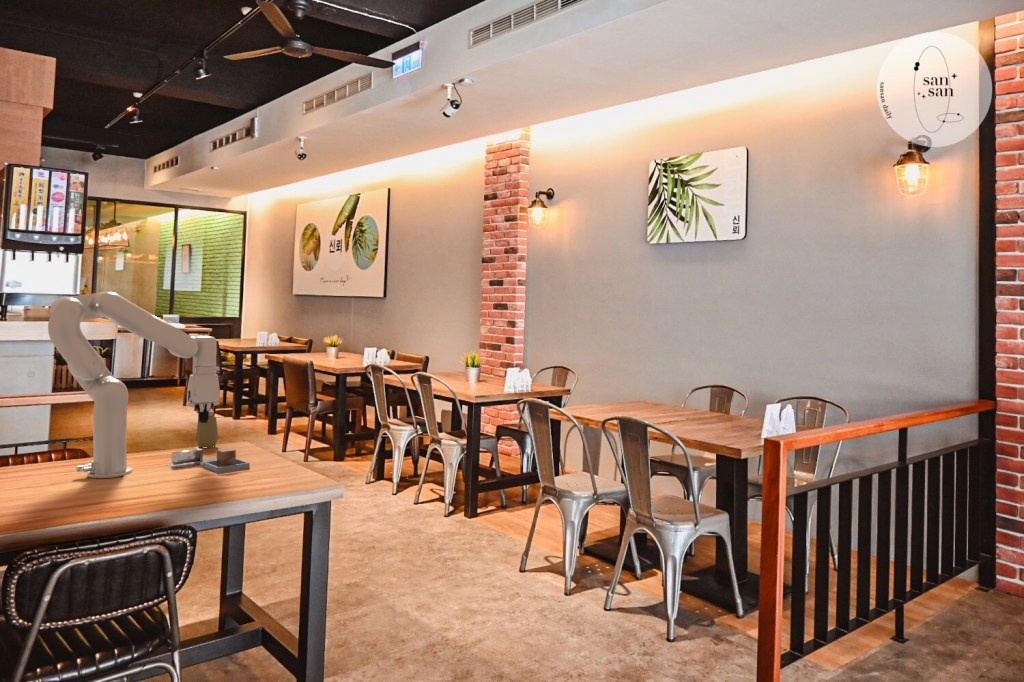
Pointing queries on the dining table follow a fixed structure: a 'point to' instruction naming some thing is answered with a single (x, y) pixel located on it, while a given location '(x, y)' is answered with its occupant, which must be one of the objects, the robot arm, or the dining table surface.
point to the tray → (213, 466)
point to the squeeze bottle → (207, 432)
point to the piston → (187, 456)
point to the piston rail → (190, 464)
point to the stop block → (226, 457)
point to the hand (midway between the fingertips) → (203, 422)
